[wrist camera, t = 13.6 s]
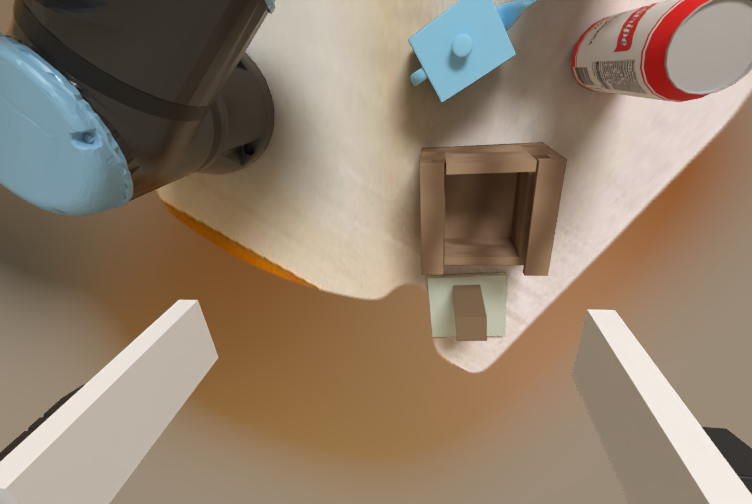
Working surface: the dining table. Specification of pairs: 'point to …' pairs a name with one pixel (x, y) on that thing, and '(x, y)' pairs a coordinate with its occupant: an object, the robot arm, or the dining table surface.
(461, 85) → the teapot
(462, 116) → the dining table surface
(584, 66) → the beer can
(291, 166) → the dining table surface
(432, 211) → the box
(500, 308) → the lid
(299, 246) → the dining table surface
